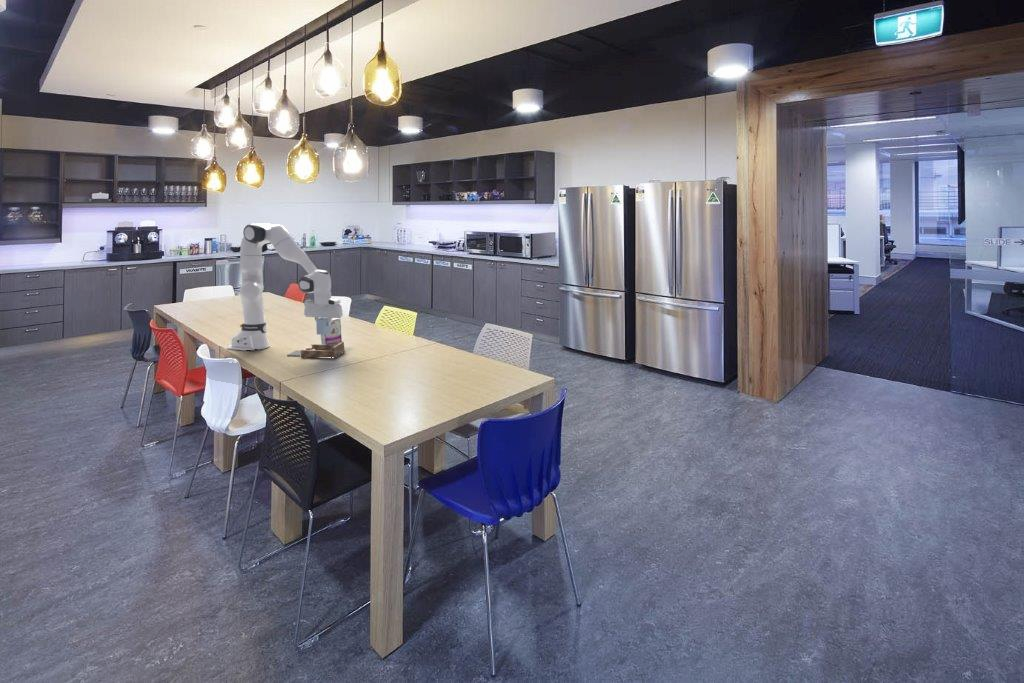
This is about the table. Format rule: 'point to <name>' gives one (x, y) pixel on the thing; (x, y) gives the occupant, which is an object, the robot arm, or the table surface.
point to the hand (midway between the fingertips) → (323, 325)
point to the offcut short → (308, 347)
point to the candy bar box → (333, 334)
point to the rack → (323, 350)
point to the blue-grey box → (322, 326)
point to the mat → (295, 353)
